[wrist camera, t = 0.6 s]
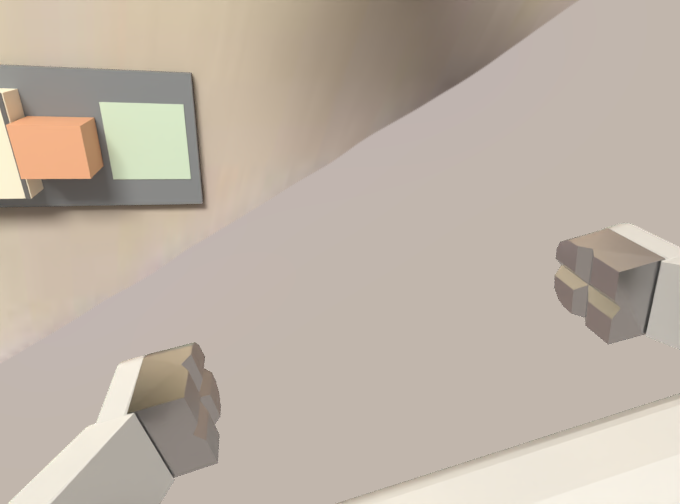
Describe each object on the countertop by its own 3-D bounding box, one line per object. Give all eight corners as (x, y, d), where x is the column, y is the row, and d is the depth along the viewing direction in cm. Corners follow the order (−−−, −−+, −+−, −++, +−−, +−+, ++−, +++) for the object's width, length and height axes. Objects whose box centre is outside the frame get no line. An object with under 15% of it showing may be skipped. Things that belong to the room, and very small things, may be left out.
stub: (27, 116, 42) (5, 124, 38) (94, 117, 44) (79, 126, 40) (40, 165, 45) (21, 179, 41) (103, 165, 46) (90, 178, 42)
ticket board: (-190, 56, 38) (-234, 59, 34) (191, 72, 44) (187, 76, 41) (-122, 205, 44) (-154, 221, 41) (203, 200, 51) (200, 213, 47)
